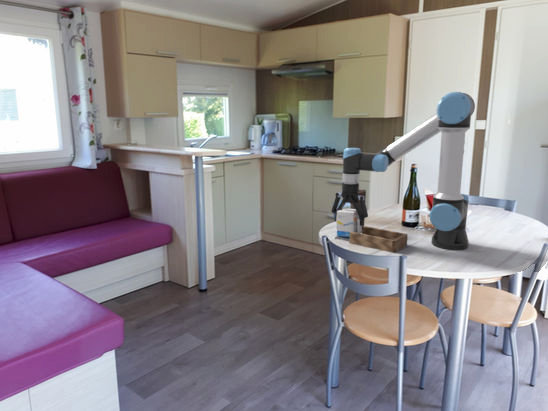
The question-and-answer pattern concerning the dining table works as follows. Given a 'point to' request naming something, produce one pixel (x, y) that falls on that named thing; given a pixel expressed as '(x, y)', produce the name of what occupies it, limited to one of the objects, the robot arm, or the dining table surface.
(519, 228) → the dining table surface
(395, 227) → the dining table surface
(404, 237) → the wooden tray
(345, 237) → the slate pad
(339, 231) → the ink box
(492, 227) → the dining table surface
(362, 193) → the candle
